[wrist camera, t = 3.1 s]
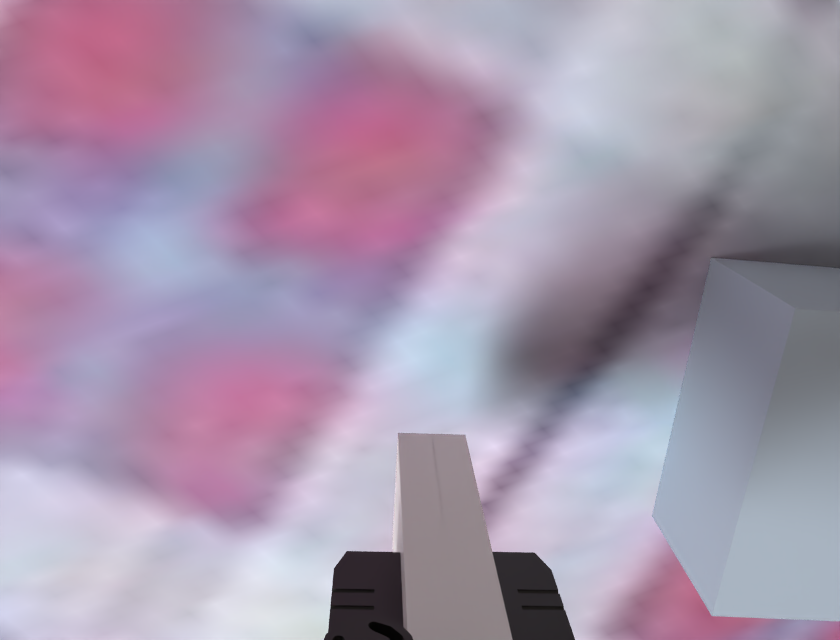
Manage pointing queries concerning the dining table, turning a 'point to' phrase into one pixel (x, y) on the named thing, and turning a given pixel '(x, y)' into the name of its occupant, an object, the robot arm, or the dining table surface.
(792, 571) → the grey rectangular block
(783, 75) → the dining table surface
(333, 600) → the robot arm
